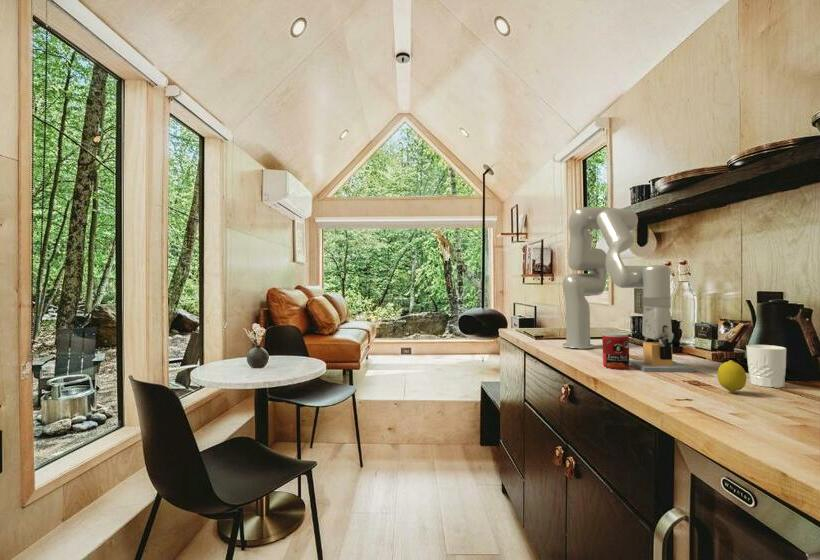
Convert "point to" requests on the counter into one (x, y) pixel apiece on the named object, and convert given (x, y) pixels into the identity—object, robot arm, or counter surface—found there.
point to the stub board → (660, 367)
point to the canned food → (615, 350)
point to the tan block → (654, 354)
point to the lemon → (731, 376)
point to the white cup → (766, 365)
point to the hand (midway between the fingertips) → (658, 356)
